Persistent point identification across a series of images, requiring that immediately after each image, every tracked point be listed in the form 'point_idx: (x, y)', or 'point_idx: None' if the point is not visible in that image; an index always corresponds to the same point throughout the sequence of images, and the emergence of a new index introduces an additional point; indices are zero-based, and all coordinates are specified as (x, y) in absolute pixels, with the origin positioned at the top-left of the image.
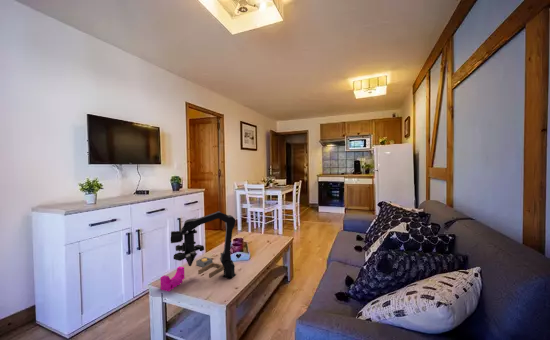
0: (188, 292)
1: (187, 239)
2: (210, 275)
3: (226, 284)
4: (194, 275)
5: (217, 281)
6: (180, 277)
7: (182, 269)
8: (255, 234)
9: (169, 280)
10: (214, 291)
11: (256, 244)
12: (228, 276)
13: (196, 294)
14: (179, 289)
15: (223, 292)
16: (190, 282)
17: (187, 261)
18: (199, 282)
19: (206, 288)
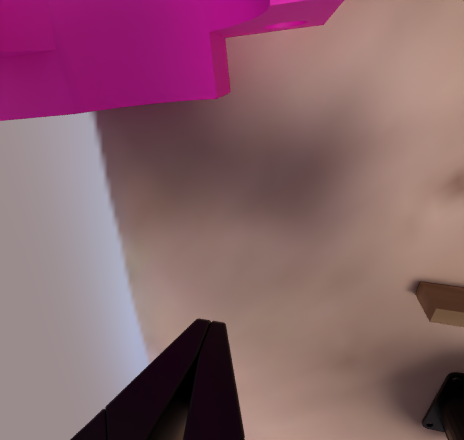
0: (147, 268)
1: None
2: (425, 309)
3: (340, 425)
4: (434, 95)
5: (363, 368)
6: (209, 71)
7: (289, 6)
8: None
9: (24, 53)
10: (239, 397)
11: None
12: (444, 425)
13: (160, 327)
14: (134, 171)
15: (252, 435)
16: (269, 176)
17: (110, 421)
18: (301, 255)
19: (246, 346)
